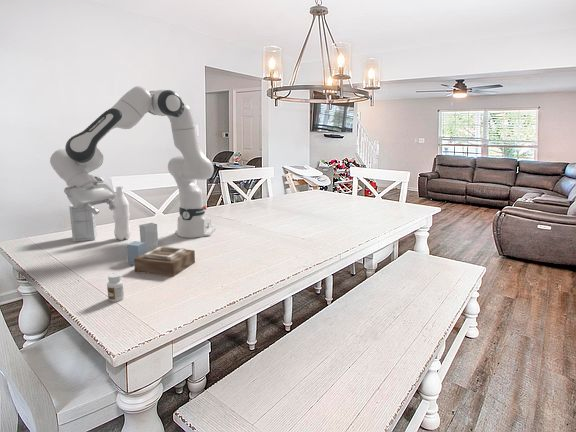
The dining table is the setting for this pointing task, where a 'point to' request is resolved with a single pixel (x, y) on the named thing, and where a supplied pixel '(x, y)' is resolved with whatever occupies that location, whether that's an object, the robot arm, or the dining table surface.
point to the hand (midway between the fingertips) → (105, 211)
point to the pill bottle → (115, 288)
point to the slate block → (135, 250)
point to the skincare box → (149, 235)
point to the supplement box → (82, 224)
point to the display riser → (165, 261)
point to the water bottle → (121, 215)
